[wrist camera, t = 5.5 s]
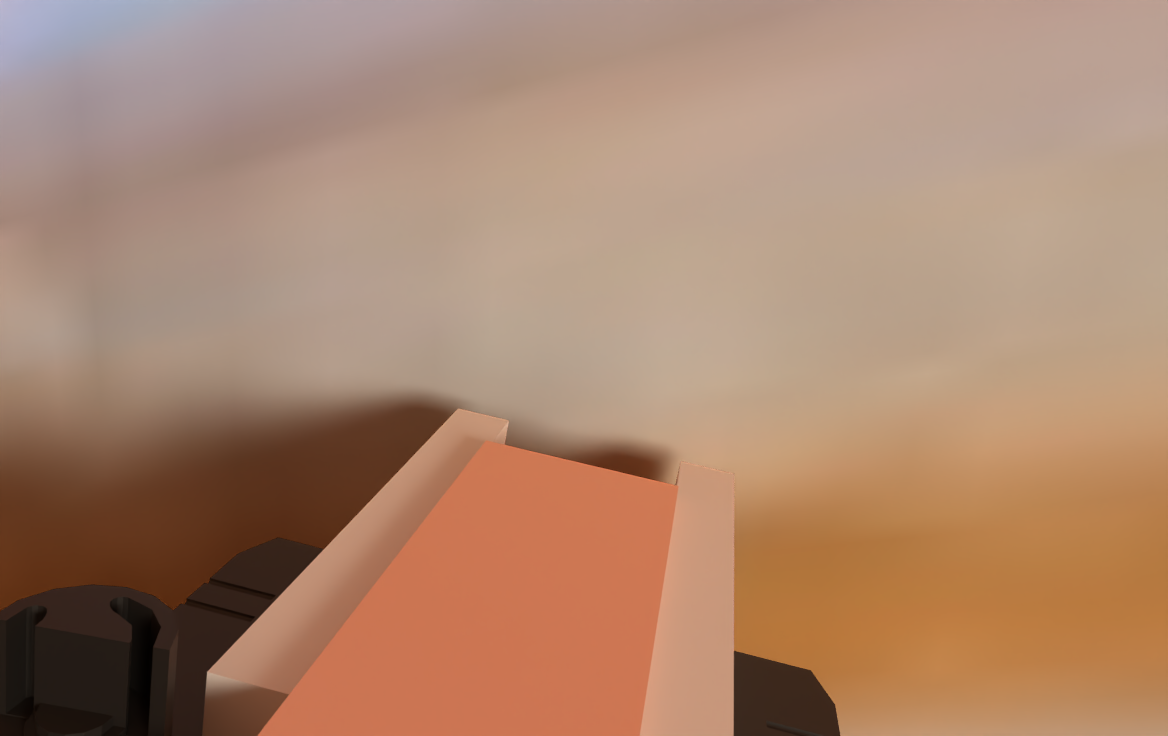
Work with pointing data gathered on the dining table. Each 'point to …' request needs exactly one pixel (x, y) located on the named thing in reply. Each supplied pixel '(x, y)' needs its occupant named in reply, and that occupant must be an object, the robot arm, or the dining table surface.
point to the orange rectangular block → (503, 611)
